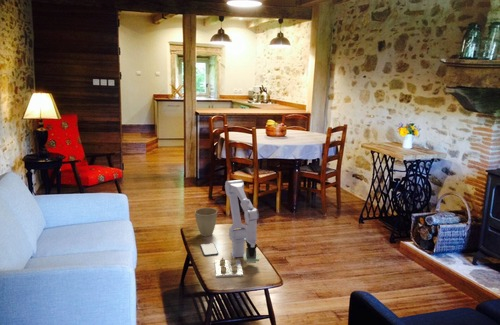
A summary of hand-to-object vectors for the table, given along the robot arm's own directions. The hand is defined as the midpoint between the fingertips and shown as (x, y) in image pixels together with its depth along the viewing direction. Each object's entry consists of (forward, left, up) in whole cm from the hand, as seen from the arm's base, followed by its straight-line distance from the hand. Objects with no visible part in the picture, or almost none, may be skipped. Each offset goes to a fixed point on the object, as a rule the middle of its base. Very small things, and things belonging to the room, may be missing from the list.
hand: (251, 254), depth 228 cm
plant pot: (-50, -24, -7) cm, 56 cm away
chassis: (+2, -12, -7) cm, 14 cm away
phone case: (-24, -22, -8) cm, 34 cm away
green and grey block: (0, 0, -3) cm, 2 cm away
